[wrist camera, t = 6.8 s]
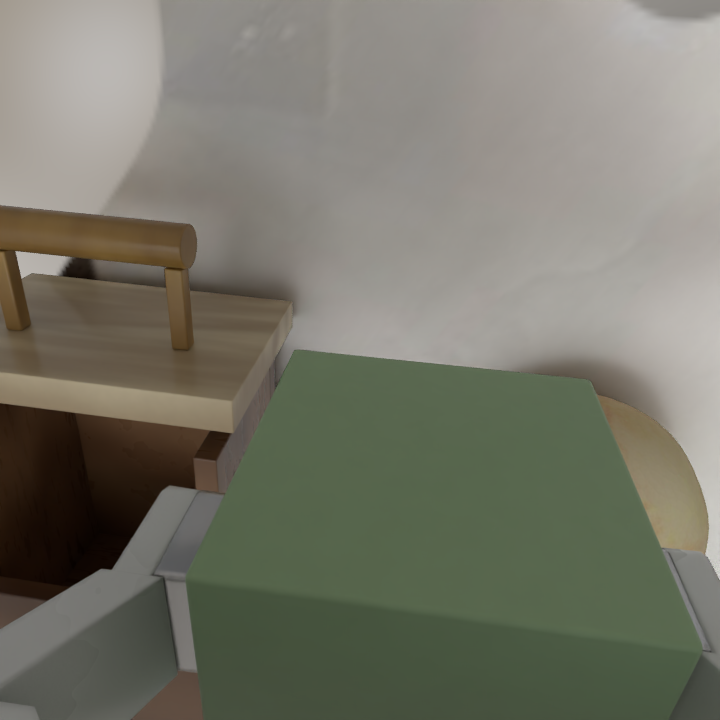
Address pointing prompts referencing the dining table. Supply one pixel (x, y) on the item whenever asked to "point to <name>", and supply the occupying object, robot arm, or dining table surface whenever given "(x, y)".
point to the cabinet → (160, 716)
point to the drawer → (116, 388)
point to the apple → (660, 477)
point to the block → (434, 556)
